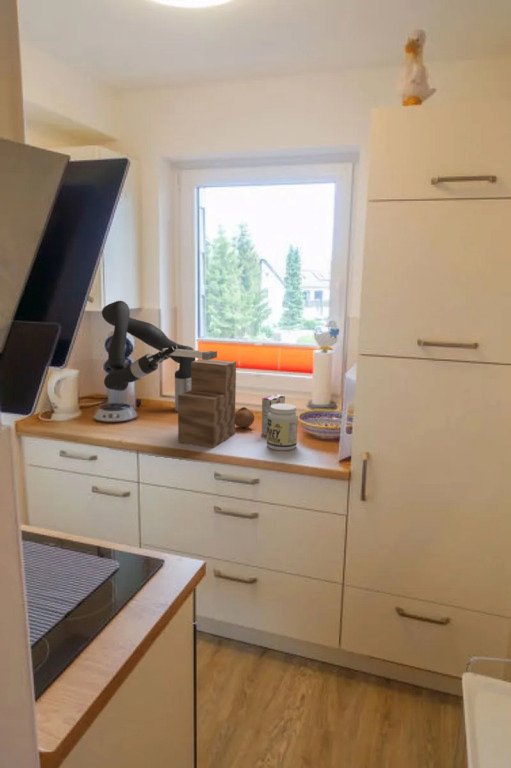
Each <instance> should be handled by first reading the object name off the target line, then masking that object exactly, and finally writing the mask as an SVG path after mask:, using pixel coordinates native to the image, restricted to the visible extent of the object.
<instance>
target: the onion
mask: <svg viewBox="0 0 511 768" xmlns="http://www.w3.org/2000/svg"><path fill="white" fill-rule="evenodd" d="M254 422H255V415H254V412H253V411H251V410H250V409H249V408H247V407H245V406H243V407H240V408H239V409H238V410H237V411H236V410H235V427H238V428H241V429H247V428H250V426H252V425H253V423H254Z"/></svg>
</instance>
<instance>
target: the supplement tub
mask: <svg viewBox="0 0 511 768" xmlns="http://www.w3.org/2000/svg"><path fill="white" fill-rule="evenodd" d="M298 416H299V415H298V413H297V406H296V405H294V404H291V403H285V404H273V405H271V406H270V412H269V414H268V424H267V435H266V445H267V447H268V448H269V449H272V450H274V451H275V450H276V451H285V452H286V451H292V450H294V449H295V448H296V447H297V443H298V441H297V440H298V420H299V417H298Z"/></svg>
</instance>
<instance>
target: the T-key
mask: <svg viewBox="0 0 511 768" xmlns="http://www.w3.org/2000/svg"><path fill="white" fill-rule="evenodd" d="M166 349H168V348H163V350H166ZM169 355H172V356H182V357H193V358H195V359H202V360H214V359H215V358H218V351H217V350H209V351H205V350H195V349H194V350H184V349H174V352H173V353H171V354H169Z"/></svg>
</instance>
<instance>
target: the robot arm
mask: <svg viewBox="0 0 511 768" xmlns="http://www.w3.org/2000/svg"><path fill="white" fill-rule="evenodd" d="M130 314H131V311H130V307H129V305H128V304H127V302H125V301H123V300H116V301H114V302H111V303H109V304H106V305H105V306H104V307H103V308H102V310H101V315H102V317H103V319H104V321H105V322H107V323H108V324H109V325H111V326H113V327H114V330H113V334H112V338H111V340H110V343H109V347H108V353H107V354H108V355H107V357H108V358H107V359H108V360H107V361H108V362H107V363H108V367H109V369H111V370H113V371H111V372H109V373H108V374H106V376H105V378H104V381H103V384H104V386H105V387H106V388H107V389H108V390H112V391H113V390H114V391H119V392H123V391H125V390H126V389H127V388H128V386H129V383H133V382H136V381H138V380H139V379H141V378H145V377H146V376H147V375H149V374H151V373H153V372H154V371H156V370H157V369H158V368H159V364H161V363H163V362H164V361H166V360H168V359H171V360H172V361H174V362H175V363H178V364H179V365H178V366H179V367H178V368H179V369H178V370H175V371H174V411H175V412H177V413H178V395H180V394H182V393H185V392H188V391H190V390H191V362H193V361H196V358H193V357H182V356H172V355H169V354H171V353H173V352H174V349H184V350H195V349H194V348H193V347H191V346H188V345H183V344H179V343H177V342H175V341H173V340H171V338H169V337H168V336H167V335H166V334H165V332H164V331H163V330H162V329H160V328H159V327H157V326H155V325H154V324H152V323H150V322H147V321H144V320H138V319H136V318H133V317H131V316H130ZM127 334H130V335H131V336H133V337H134V338H136V339H138V340H139V341H141V342H143V343H144V344H146V345H148V346H149V347H151V348H154V349H155V350H157V351H159V352H155V354H151V353H146V354H145V355H143V356H141V357H139V358H138V359H136V360H134V361H133V362H132V363H131V364H129V365H127V366H126V340H127ZM163 348H168V349H166V350H163Z"/></svg>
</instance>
